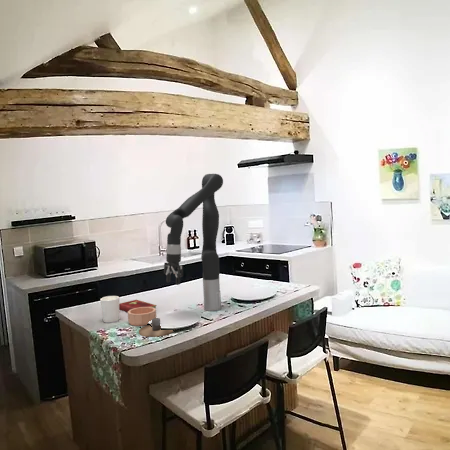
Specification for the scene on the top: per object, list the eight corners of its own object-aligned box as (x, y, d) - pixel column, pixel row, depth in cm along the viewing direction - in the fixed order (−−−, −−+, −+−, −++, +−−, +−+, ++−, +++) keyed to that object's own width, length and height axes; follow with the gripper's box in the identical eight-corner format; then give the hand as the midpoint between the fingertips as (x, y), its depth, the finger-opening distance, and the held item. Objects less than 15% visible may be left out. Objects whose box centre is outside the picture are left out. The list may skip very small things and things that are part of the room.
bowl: (159, 317, 237) (158, 306, 236) (152, 325, 223) (151, 314, 222) (133, 318, 238) (132, 307, 237) (125, 326, 224) (124, 314, 224)
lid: (177, 326, 222) (176, 313, 222) (170, 337, 205) (169, 324, 205) (144, 326, 224) (143, 314, 223) (134, 338, 207) (133, 325, 206)
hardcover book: (138, 317, 241) (138, 309, 241) (118, 310, 257) (118, 303, 256) (157, 312, 250) (156, 304, 249) (136, 306, 265) (136, 299, 264)
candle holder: (122, 317, 241) (121, 295, 240) (118, 322, 231) (117, 300, 230) (104, 318, 241) (102, 296, 240) (99, 323, 231) (98, 301, 230)
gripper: (187, 253, 230) (186, 284, 231) (171, 251, 241) (171, 280, 242) (175, 254, 225) (175, 286, 226) (160, 251, 236) (159, 282, 237)
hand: (173, 283), depth 234 cm, fingers open, 8 cm apart
